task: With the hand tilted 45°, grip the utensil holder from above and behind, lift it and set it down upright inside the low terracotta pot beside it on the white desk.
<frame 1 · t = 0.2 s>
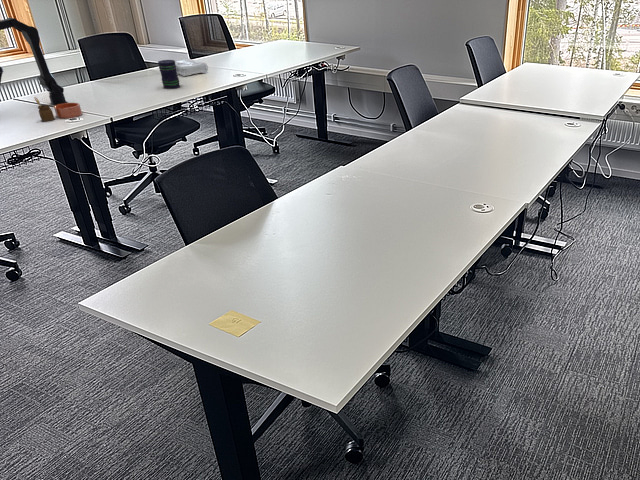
storage jar: (171, 87, 348), on the table
white plastic package: (186, 72, 386), on the table
utensil holder: (48, 120, 288), on the table
pot: (69, 115, 295), on the table
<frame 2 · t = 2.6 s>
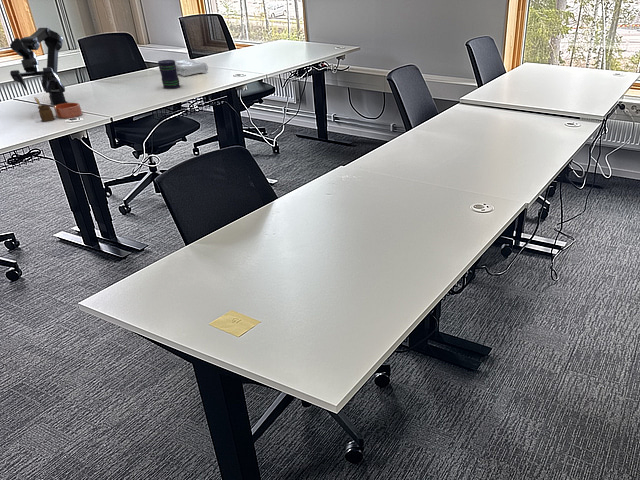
hand: (36, 89, 286), 13 cm above the table, tool tilted 40°, fingers open, 9 cm apart
nothing on the table moved.
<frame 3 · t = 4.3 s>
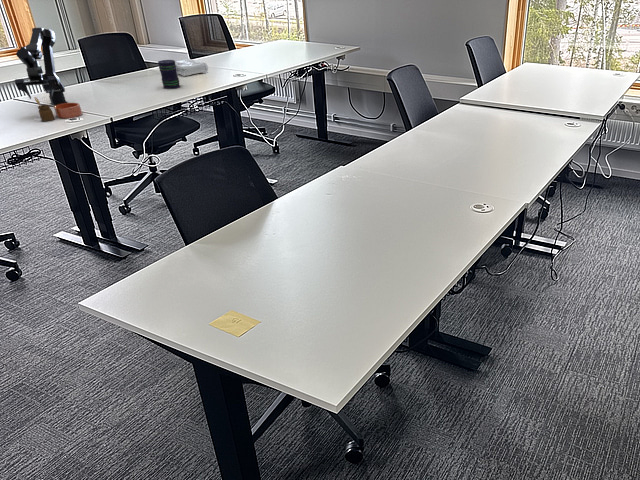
hand: (41, 97, 285), 10 cm above the table, tool tilted 45°, fingers open, 9 cm apart
nothing on the table moved.
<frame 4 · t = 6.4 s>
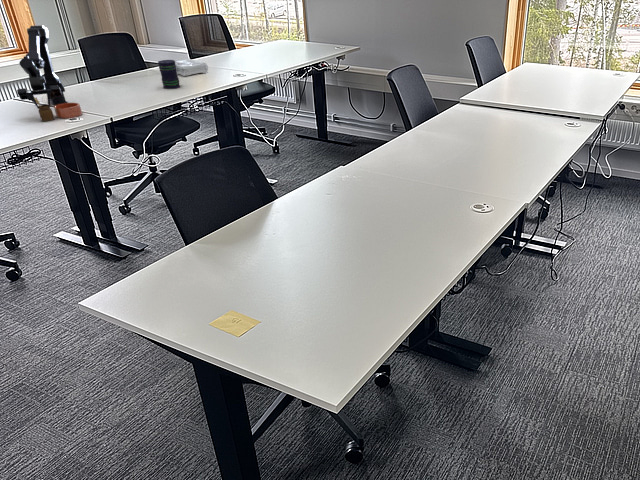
hand: (43, 107, 283), 7 cm above the table, tool tilted 45°, fingers closed on utensil holder, 5 cm apart
utensil holder: (48, 120, 288), on the table, touching gripper
everything else where it was.
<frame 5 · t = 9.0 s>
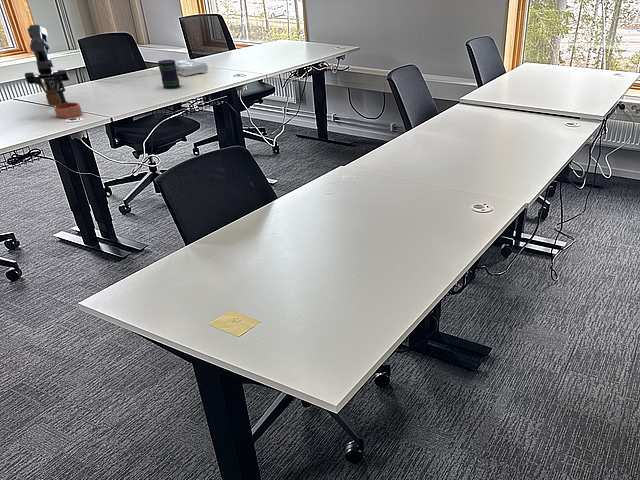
hand: (51, 91, 284), 13 cm above the table, tool tilted 45°, fingers closed on utensil holder, 5 cm apart
utensil holder: (55, 104, 288), point 6 cm above the table, touching gripper
everything else where it was.
when the fingers open (7 cm above the table, at t = 11.8 s): utensil holder stays where it is, resting on pot.
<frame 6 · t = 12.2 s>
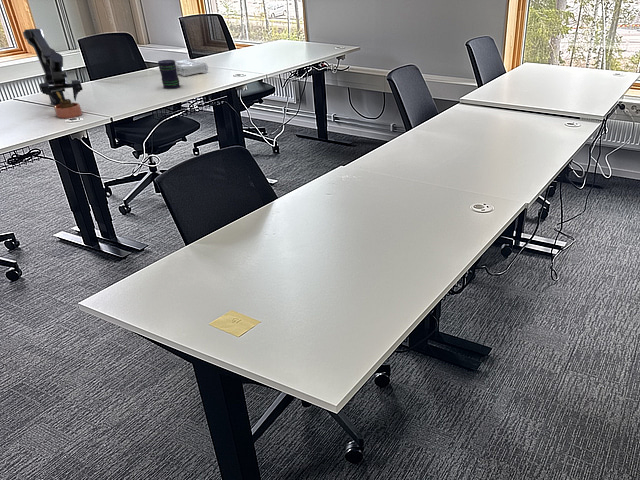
hand: (65, 101, 290), 7 cm above the table, tool tilted 45°, fingers open, 9 cm apart
utensil holder: (69, 114, 295), resting on pot
everything else where it was.
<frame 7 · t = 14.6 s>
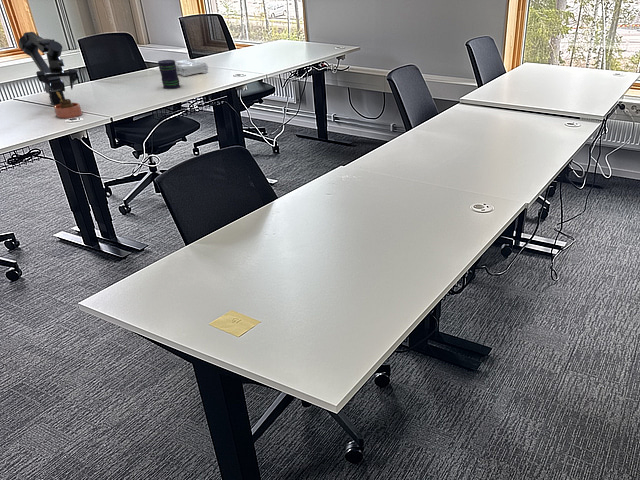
hand: (61, 89, 293), 12 cm above the table, tool tilted 40°, fingers open, 9 cm apart
nothing on the table moved.
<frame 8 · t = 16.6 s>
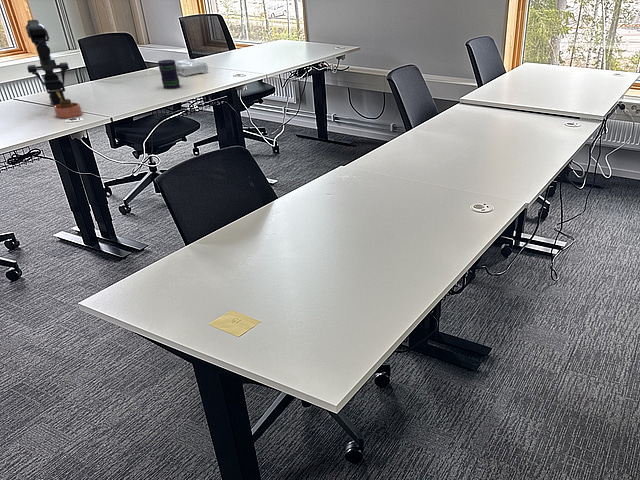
hand: (54, 84, 297), 13 cm above the table, tool pointing down, fingers open, 9 cm apart
nothing on the table moved.
at the end: utensil holder 0.2 cm off-centre in the pot, point 0.4 cm above the pot's base; utensil holder tilted 0°; the gripper is holding nothing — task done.
